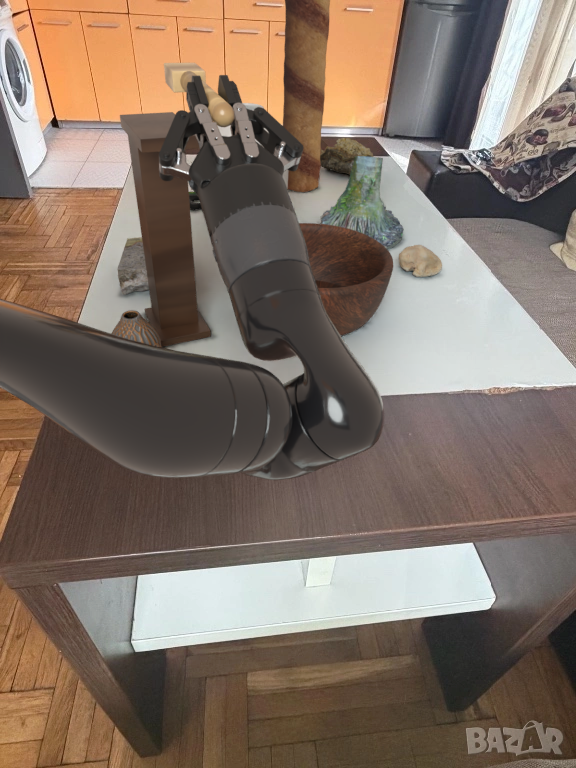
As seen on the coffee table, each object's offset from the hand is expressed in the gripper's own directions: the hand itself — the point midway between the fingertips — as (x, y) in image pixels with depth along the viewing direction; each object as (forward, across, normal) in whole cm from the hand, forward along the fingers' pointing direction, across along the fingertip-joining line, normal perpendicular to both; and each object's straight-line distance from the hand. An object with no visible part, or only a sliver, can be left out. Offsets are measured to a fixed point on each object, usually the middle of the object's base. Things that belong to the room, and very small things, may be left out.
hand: (208, 83), depth 49 cm
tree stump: (+19, -43, +55) cm, 72 cm away
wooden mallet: (+3, 0, +5) cm, 6 cm away
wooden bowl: (-5, -20, +41) cm, 46 cm away
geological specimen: (+11, +4, +50) cm, 51 cm away
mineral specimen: (+51, -58, +75) cm, 107 cm away
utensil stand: (-5, +3, +40) cm, 41 cm away
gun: (+41, -7, +68) cm, 80 cm away
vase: (-12, +10, +36) cm, 40 cm away
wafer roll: (+45, -40, +71) cm, 93 cm away
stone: (+1, -46, +45) cm, 64 cm away
